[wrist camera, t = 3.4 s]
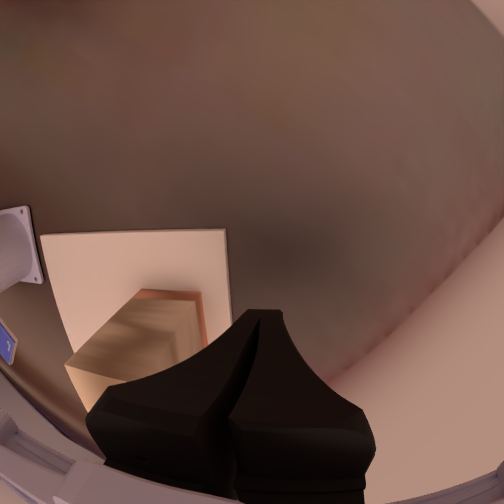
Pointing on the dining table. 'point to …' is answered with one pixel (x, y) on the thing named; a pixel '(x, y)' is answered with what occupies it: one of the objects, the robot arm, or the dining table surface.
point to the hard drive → (7, 343)
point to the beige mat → (135, 274)
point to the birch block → (139, 341)
